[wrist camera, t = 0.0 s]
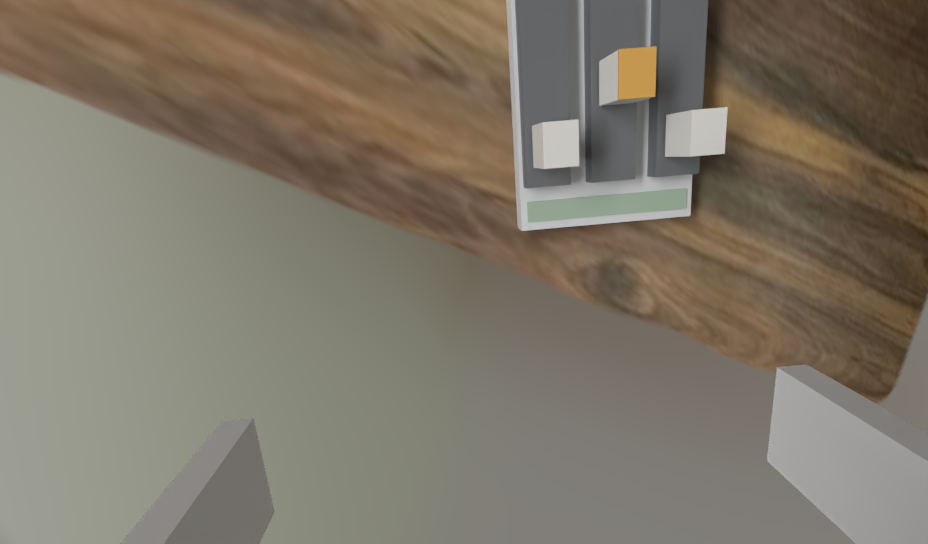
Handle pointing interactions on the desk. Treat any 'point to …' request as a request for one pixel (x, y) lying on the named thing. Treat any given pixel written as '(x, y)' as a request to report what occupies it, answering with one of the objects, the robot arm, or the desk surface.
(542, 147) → the block
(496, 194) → the desk surface
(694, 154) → the block
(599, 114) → the breaker panel
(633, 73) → the block
